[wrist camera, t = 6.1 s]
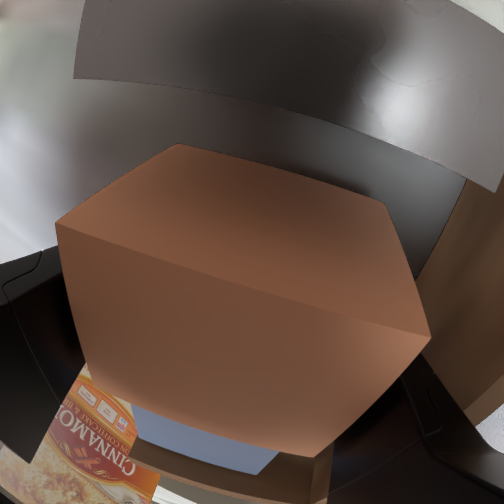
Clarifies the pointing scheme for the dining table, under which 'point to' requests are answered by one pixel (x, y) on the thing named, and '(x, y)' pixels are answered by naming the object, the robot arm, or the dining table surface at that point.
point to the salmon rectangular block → (240, 298)
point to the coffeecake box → (82, 455)
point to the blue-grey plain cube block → (200, 443)
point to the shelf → (435, 352)
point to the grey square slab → (322, 65)
